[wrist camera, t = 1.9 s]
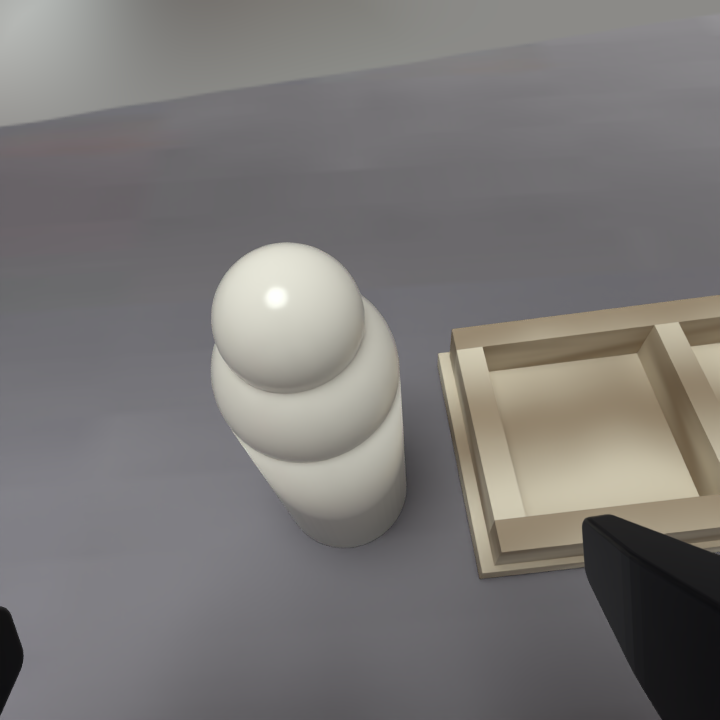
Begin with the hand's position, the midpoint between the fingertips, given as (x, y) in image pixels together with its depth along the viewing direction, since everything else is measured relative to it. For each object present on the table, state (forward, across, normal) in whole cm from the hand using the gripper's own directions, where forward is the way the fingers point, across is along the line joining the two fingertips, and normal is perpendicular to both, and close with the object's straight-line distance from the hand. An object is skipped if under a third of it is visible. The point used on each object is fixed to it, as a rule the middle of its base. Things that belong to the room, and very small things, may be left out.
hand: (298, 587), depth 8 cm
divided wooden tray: (+13, -13, +4) cm, 19 cm away
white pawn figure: (+13, 0, +4) cm, 13 cm away
